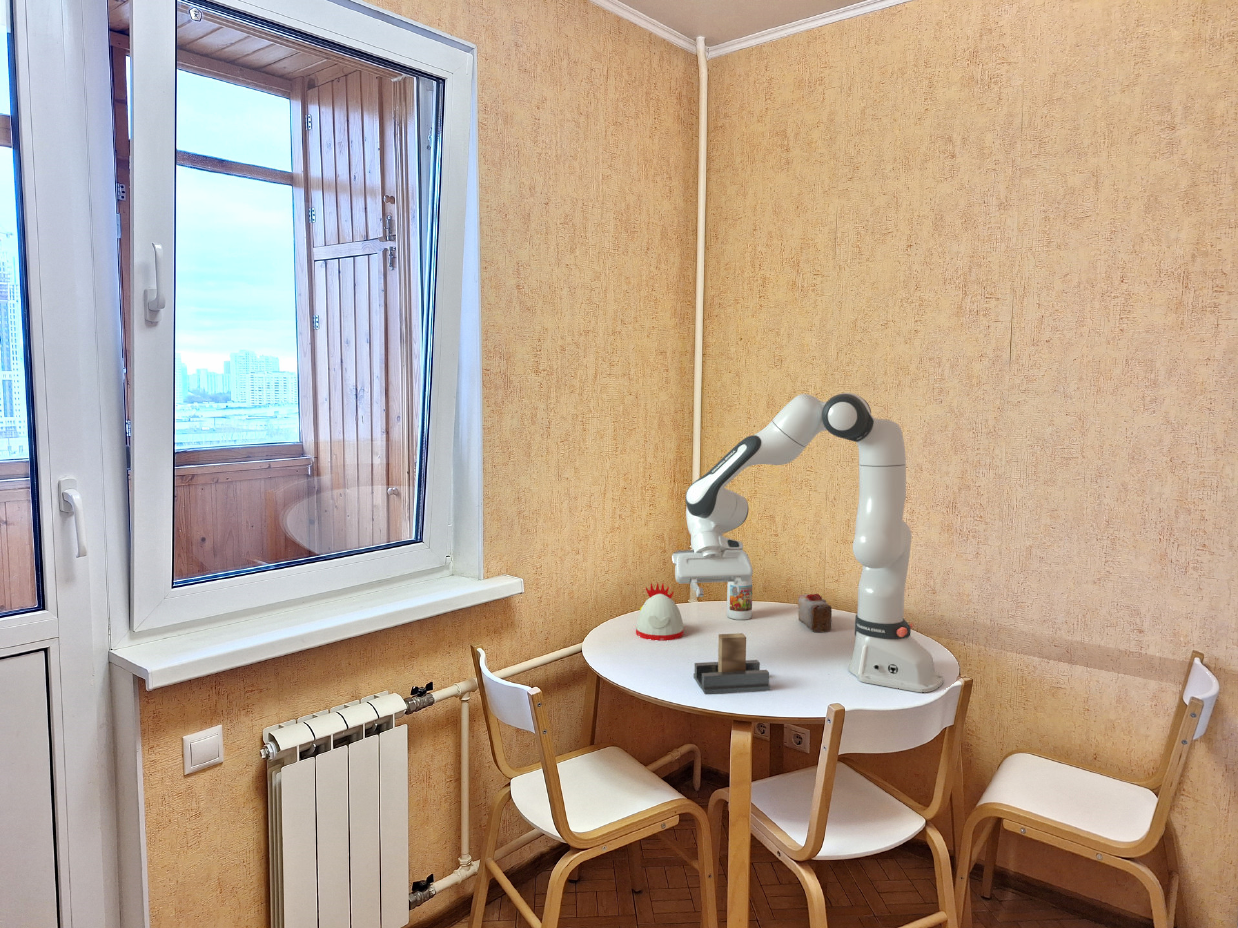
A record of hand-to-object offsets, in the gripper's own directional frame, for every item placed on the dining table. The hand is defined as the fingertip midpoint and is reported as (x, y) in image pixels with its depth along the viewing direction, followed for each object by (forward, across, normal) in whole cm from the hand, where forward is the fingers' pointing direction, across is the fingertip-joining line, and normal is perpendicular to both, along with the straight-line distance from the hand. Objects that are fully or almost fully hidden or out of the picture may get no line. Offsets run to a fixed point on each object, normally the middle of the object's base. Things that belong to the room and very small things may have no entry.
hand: (718, 595), depth 205 cm
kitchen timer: (-7, -9, +34) cm, 36 cm away
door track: (+22, 0, +5) cm, 22 cm away
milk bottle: (-16, +19, +42) cm, 49 cm away
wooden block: (+21, 0, +4) cm, 21 cm away
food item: (-7, +39, +34) cm, 52 cm away
